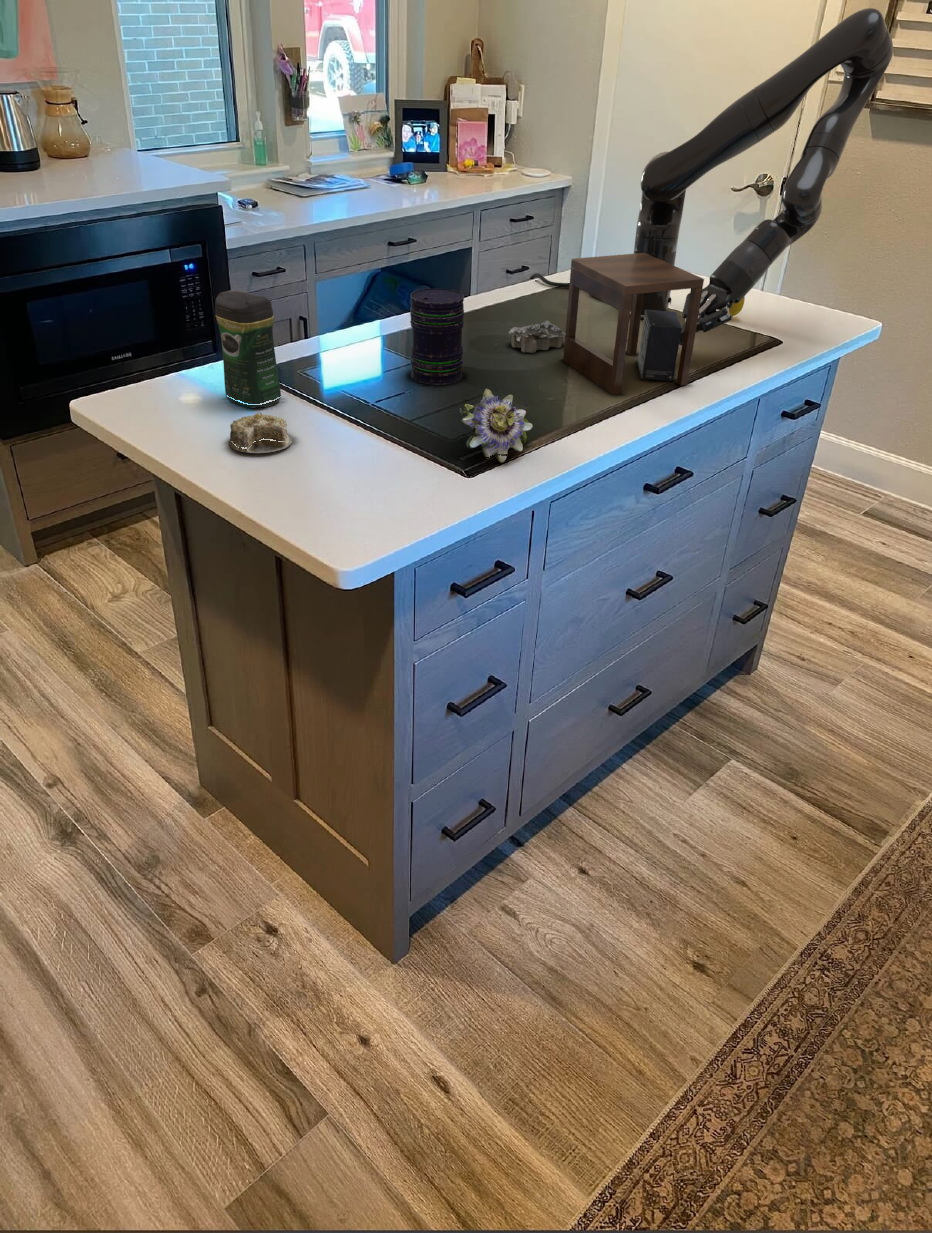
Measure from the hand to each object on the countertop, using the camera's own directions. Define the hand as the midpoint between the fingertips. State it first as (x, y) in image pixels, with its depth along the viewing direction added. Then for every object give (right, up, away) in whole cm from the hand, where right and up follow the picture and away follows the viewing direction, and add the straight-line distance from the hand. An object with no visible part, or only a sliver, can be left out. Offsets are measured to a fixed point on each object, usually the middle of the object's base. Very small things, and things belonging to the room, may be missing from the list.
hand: (677, 342), depth 184 cm
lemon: (+18, +14, +30) cm, 38 cm away
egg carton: (-27, +2, +12) cm, 29 cm away
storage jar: (-47, -8, -5) cm, 48 cm away
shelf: (-11, -6, -1) cm, 12 cm away
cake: (-74, -26, -32) cm, 85 cm away
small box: (-4, -6, 0) cm, 7 cm away
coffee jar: (-79, -15, -17) cm, 82 cm away
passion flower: (-37, -27, -33) cm, 56 cm away
